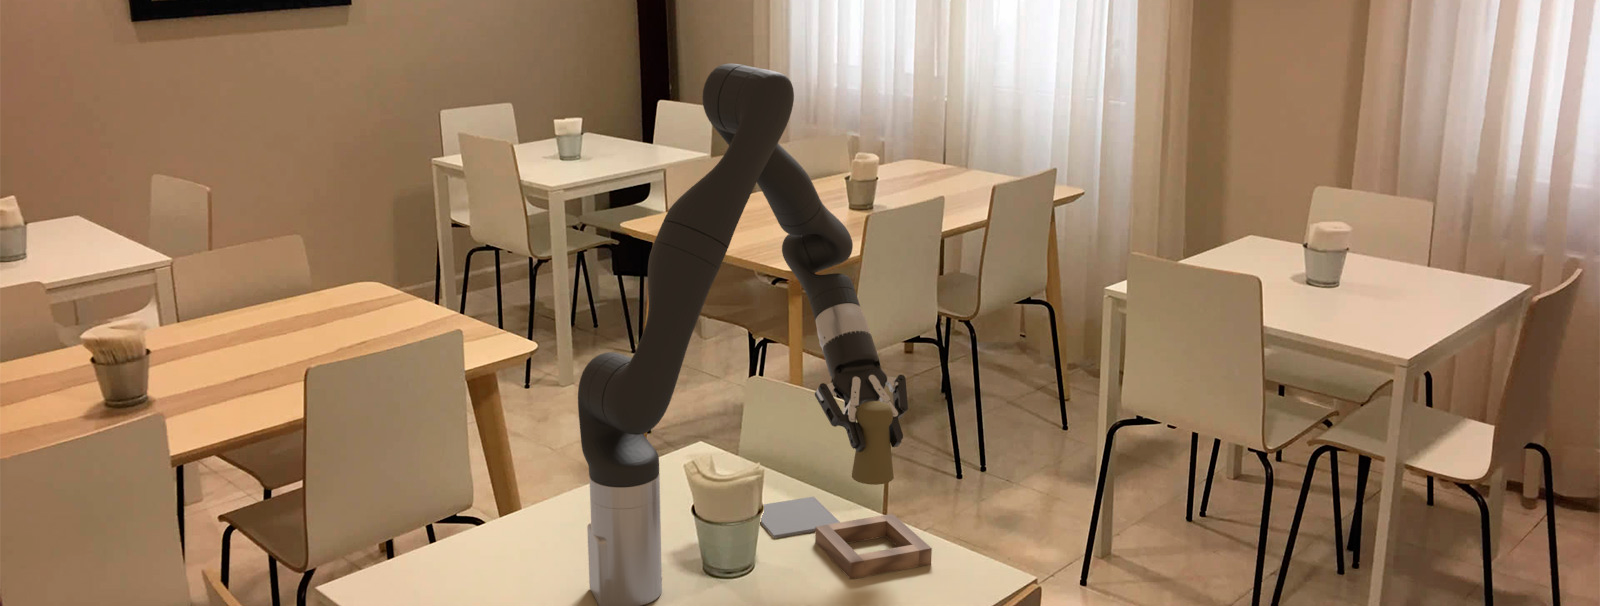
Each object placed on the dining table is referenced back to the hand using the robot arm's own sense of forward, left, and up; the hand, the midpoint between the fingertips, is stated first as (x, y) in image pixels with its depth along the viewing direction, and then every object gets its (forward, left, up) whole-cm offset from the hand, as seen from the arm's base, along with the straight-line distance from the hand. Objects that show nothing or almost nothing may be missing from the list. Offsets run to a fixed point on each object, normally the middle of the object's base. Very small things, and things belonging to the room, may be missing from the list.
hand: (879, 446), depth 182 cm
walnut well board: (0, +2, -17) cm, 17 cm away
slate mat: (-6, +17, -17) cm, 25 cm away
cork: (0, +2, -5) cm, 6 cm away
